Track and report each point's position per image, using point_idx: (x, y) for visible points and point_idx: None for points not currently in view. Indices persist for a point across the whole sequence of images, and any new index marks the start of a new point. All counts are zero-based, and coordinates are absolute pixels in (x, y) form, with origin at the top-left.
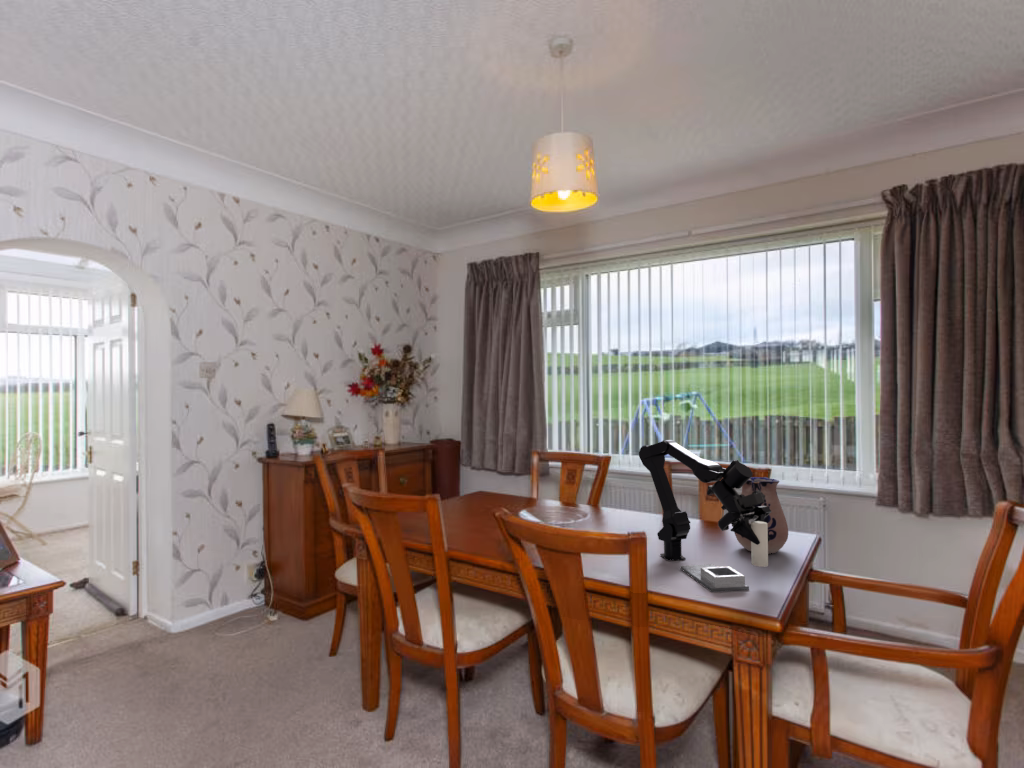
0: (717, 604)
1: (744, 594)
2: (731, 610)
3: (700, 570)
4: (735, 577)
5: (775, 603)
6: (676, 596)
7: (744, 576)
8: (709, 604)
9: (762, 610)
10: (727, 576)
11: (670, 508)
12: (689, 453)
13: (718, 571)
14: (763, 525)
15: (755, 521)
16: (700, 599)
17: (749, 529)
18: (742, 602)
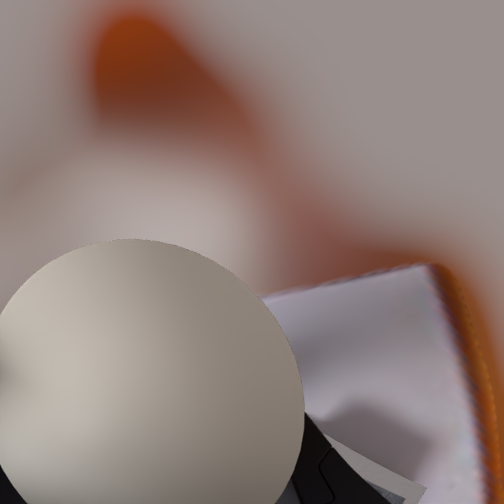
0: (469, 405)
1: (349, 410)
2: (472, 357)
3: None
4: (358, 454)
5: (347, 301)
6: (486, 499)
7: (325, 434)
8: (480, 416)
9: (420, 305)
10: (386, 471)
11: None
12: None
13: None
14: (227, 280)
15: (51, 488)
16: (470, 455)
17: (351, 474)
18: (415, 373)
